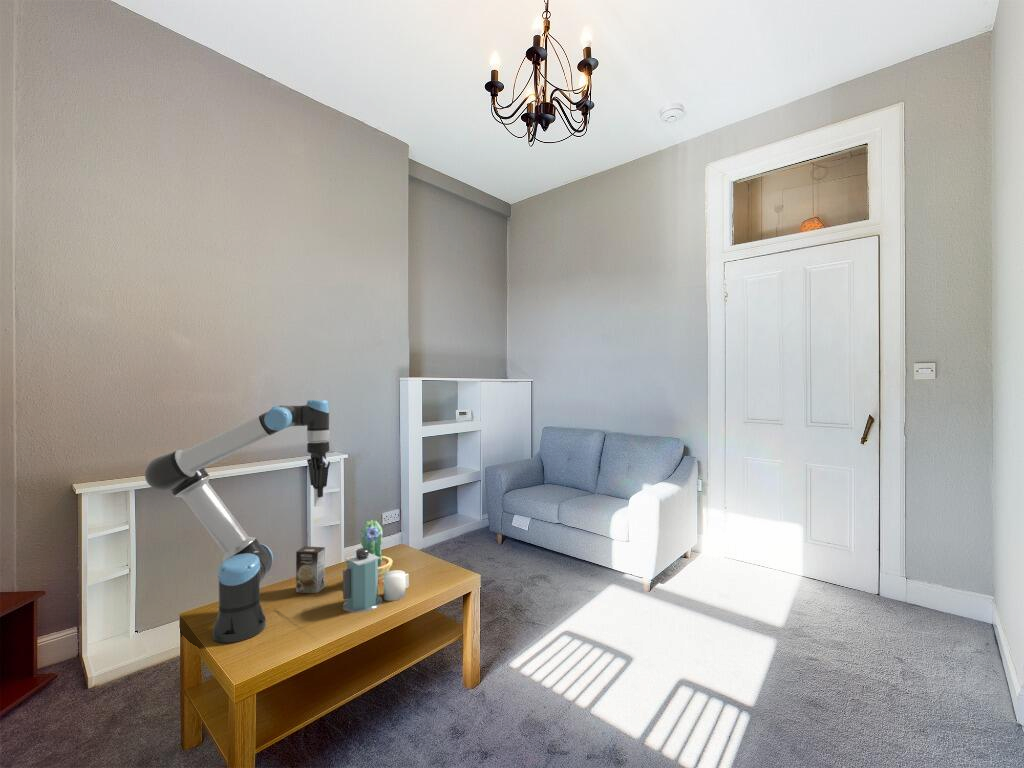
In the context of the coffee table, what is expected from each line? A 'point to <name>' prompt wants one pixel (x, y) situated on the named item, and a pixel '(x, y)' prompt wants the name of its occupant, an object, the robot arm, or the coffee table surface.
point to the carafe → (361, 582)
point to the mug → (395, 585)
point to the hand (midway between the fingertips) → (318, 505)
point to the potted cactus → (375, 546)
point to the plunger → (362, 553)
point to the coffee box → (310, 569)
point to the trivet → (363, 609)
